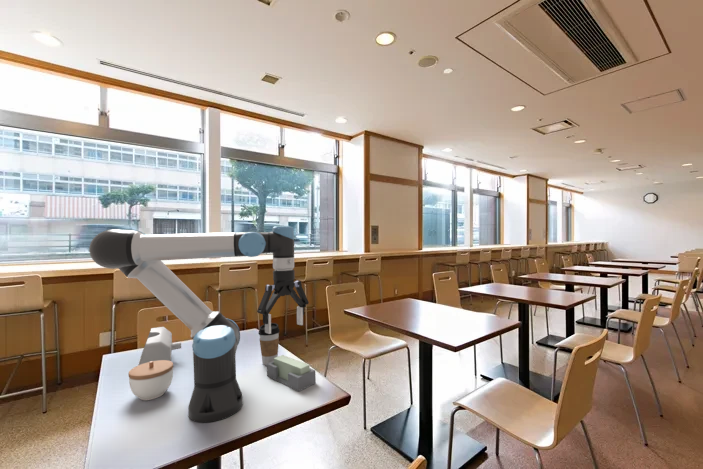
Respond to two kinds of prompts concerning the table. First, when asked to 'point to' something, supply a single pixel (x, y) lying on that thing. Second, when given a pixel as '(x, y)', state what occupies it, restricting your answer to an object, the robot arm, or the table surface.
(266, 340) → the coffee cup
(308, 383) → the grey holder tray
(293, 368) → the block
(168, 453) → the table surface
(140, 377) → the lidded bowl
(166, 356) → the tank
